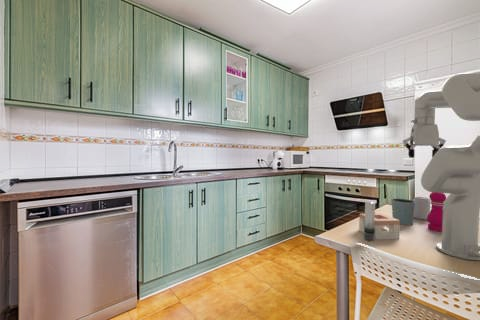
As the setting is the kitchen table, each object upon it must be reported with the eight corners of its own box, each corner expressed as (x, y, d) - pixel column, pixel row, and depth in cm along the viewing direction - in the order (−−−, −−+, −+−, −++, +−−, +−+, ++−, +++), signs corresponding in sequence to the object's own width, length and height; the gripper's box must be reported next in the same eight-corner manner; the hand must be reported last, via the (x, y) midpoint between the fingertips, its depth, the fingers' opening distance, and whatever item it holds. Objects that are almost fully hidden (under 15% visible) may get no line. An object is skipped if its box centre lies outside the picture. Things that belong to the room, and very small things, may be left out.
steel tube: (376, 241, 91) (377, 203, 91) (367, 241, 91) (369, 203, 90) (370, 237, 95) (371, 201, 94) (361, 238, 95) (363, 201, 94)
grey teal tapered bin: (402, 226, 110) (403, 202, 110) (385, 219, 120) (386, 198, 120) (419, 225, 112) (420, 202, 111) (401, 219, 122) (402, 197, 121)
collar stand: (399, 238, 94) (399, 220, 94) (375, 239, 93) (376, 220, 93) (380, 229, 105) (381, 213, 105) (359, 230, 104) (359, 213, 104)
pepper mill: (450, 232, 102) (452, 190, 101) (432, 231, 103) (434, 189, 102) (439, 227, 109) (441, 187, 108) (423, 226, 110) (424, 187, 109)
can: (413, 215, 129) (414, 195, 129) (430, 218, 124) (431, 197, 123) (411, 218, 124) (412, 197, 123) (428, 221, 118) (429, 199, 118)
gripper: (407, 121, 103) (406, 157, 103) (451, 120, 99) (450, 158, 99) (399, 123, 110) (398, 157, 110) (440, 122, 106) (439, 157, 106)
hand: (423, 157), depth 105 cm, fingers open, 9 cm apart
